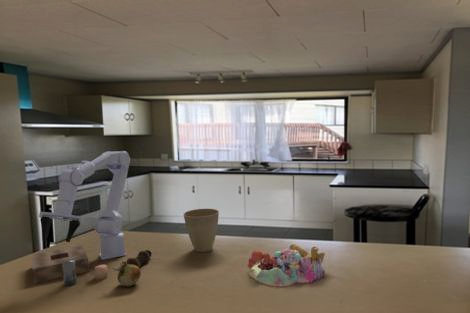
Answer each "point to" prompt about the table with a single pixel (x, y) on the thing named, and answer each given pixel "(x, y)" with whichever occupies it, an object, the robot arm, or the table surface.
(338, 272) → the table surface
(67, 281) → the dark metallic cylinder
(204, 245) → the plant pot
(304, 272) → the candy landscape model
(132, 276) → the onion
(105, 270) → the pinkish tan rounded piece
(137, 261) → the dark brown lumpy piece
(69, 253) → the hole block
